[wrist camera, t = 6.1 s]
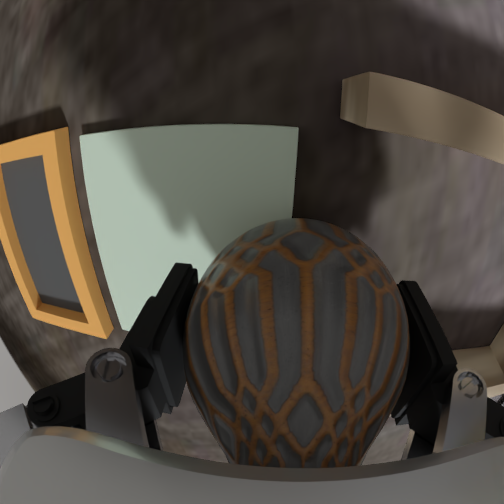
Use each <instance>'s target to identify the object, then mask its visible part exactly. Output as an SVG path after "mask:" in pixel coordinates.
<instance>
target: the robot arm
mask: <svg viewBox="0 0 504 504" xmlns="http://www.w3.org/2000/svg"><path fill="white" fill-rule="evenodd" d="M198 284H199V282H198V271H197V269H196V268H193V266H192V264H187V263H175V264H174V266H173V267H172V269H171V271H170V272H169V274H168V276H167V277H166V279H165V281H164V283H163V284H162V286H161V288H160V290H159V291H158V293H157V295H156V296H151V297H149V298H148V300H147V301H146V303H145V305H144V306H143V308H142V310H141V312H140V313H139V315H138V317H137V318H136V320H135V322H134V324H133V326H132V327H131V329H130V331H129V333H128V334H127V336H126V338H125V340H124V342H123V343H122V345H121V347H120V349H117V348H106V349H102V350H100V351H98V352H96V353H94V354H93V355H92V356H91V357H90V358H89V360H88V362H87V364H86V368H85V373H83V374H80V375H77V376H75V377H72V378H70V379H67V380H64V381H62V382H59V383H57V384H54V385H51V386H49V387H46V388H43V389H41V390H39V391H37V392H35V393H34V394H33V395H32V396H31V398H30V399H29V401H28V405H27V406H24V404H20V405H18V406H15V407H13V408H10V409H8V410H6V411H3V412H1V413H0V504H504V407H503V406H501V405H500V404H498V403H496V402H495V401H493V400H492V399H490V398H489V397H487V386H486V383H485V380H484V379H483V377H482V376H481V375H480V374H479V373H478V372H477V371H475V370H473V369H470V368H462V369H460V370H458V369H457V366H456V365H457V360H456V358H455V356H454V354H453V352H452V349H451V347H450V345H449V343H448V341H447V339H446V337H445V335H444V333H443V330H442V328H441V326H440V324H439V323H438V321H437V319H436V317H435V315H434V313H433V311H432V309H431V307H430V305H429V303H428V302H427V300H426V298H425V296H424V294H423V292H422V291H421V289H420V287H419V285H418V284H417V282H415V281H403V280H402V281H401V282H400V283H399V284H396V285H397V287H398V289H399V291H400V294H401V296H402V299H403V301H404V305H405V309H406V313H407V317H408V324H409V333H410V356H409V366H408V371H407V376H406V380H405V383H404V386H403V389H402V392H401V394H400V396H399V398H398V400H397V403H396V405H395V407H394V408H393V410H392V412H391V417H392V418H395V422H396V425H403V424H409V427H410V432H409V436H408V439H407V442H406V446H405V449H404V452H403V455H402V458H401V460H400V461H394V462H387V463H379V464H371V465H362V466H351V467H335V468H276V467H261V466H249V465H239V464H231V463H223V462H216V461H210V460H204V459H198V458H193V457H188V456H183V455H178V454H174V453H169V452H165V451H163V447H162V443H161V439H160V435H159V430H158V426H157V422H156V419H158V418H160V417H161V415H162V412H164V413H168V414H171V412H172V409H173V406H175V407H178V405H179V403H180V400H181V397H182V394H183V390H184V387H185V384H186V377H185V371H184V362H183V334H184V326H185V320H186V315H187V311H188V308H189V305H190V302H191V299H192V297H193V294H194V292H195V290H196V288H197V286H198Z"/></svg>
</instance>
